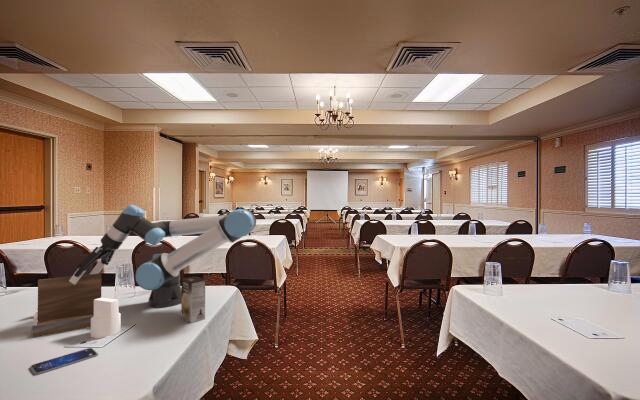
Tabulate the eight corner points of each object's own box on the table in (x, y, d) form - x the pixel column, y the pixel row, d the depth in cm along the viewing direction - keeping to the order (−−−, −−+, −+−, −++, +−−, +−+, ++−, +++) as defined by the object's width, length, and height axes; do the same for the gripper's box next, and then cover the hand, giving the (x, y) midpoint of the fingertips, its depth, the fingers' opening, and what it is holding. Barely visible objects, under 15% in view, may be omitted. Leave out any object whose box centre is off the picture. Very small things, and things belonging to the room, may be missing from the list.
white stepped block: (126, 329, 118) (126, 297, 118) (102, 339, 109) (103, 304, 109) (108, 326, 120) (109, 295, 121) (84, 336, 112) (84, 302, 112)
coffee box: (180, 317, 130) (180, 278, 130) (195, 313, 135) (195, 275, 135) (190, 323, 124) (190, 282, 124) (206, 319, 128) (206, 279, 129)
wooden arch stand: (101, 325, 122) (102, 279, 122) (32, 337, 111) (32, 287, 111) (101, 314, 134) (101, 273, 134) (37, 325, 122) (38, 279, 122)
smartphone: (99, 354, 98) (34, 374, 86) (99, 357, 98) (34, 378, 86) (91, 346, 102) (29, 365, 91) (91, 349, 102) (29, 368, 91)
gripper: (121, 230, 148) (92, 268, 146) (89, 234, 123) (53, 280, 121) (135, 239, 148) (106, 277, 146) (106, 245, 123) (71, 291, 121)
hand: (82, 279), depth 133 cm, fingers open, 13 cm apart
